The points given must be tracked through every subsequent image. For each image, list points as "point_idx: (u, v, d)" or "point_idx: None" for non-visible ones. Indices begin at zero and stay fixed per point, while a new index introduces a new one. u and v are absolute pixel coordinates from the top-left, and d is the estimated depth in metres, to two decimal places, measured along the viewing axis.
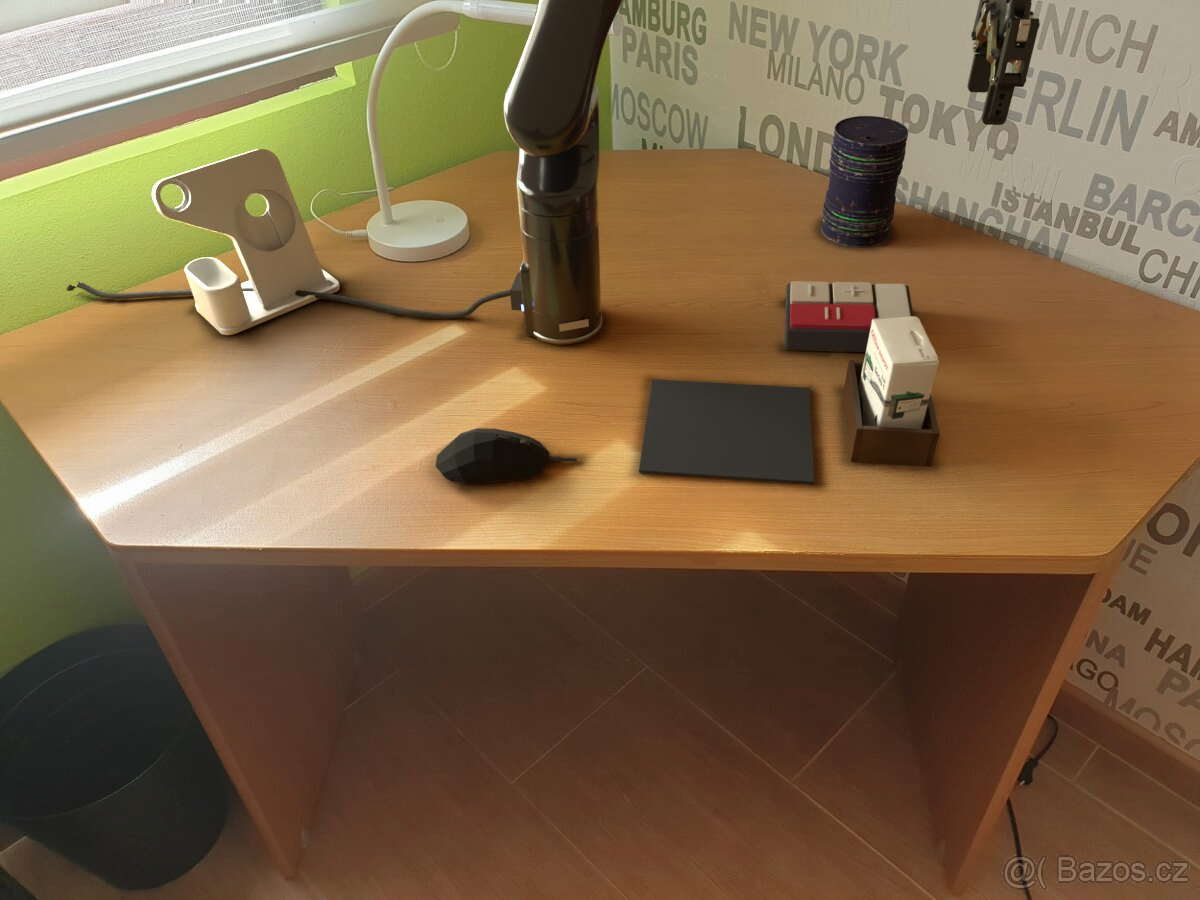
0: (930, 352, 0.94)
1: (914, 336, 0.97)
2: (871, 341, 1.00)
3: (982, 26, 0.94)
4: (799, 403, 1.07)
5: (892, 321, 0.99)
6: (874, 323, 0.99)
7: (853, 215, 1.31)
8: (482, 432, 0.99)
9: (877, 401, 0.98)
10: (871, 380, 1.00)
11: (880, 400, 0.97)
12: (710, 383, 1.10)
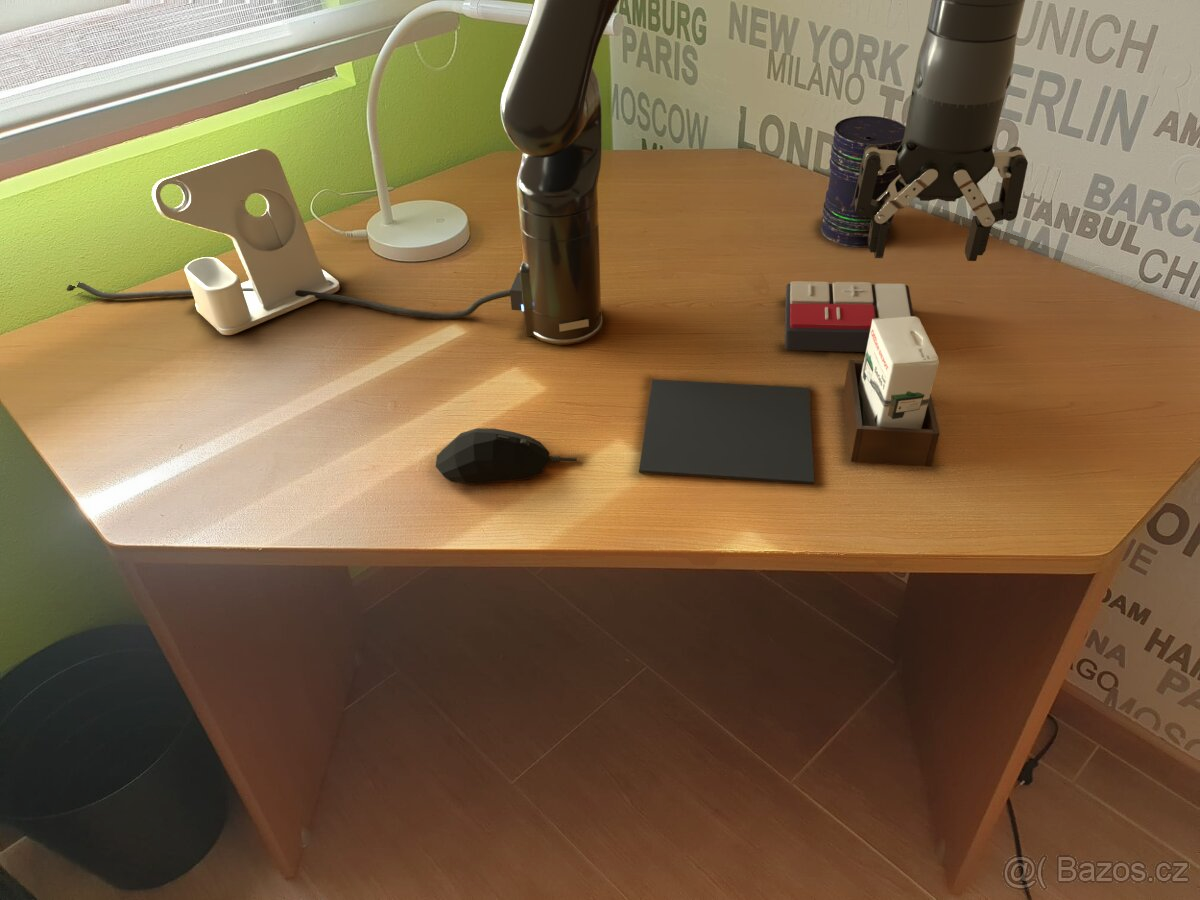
0: (930, 352, 0.94)
1: (914, 336, 0.97)
2: (871, 341, 1.00)
3: None
4: (799, 403, 1.07)
5: (892, 321, 0.99)
6: (874, 323, 0.99)
7: (853, 215, 1.31)
8: (482, 432, 0.99)
9: (877, 401, 0.98)
10: (871, 380, 1.00)
11: (880, 399, 0.97)
12: (710, 383, 1.10)
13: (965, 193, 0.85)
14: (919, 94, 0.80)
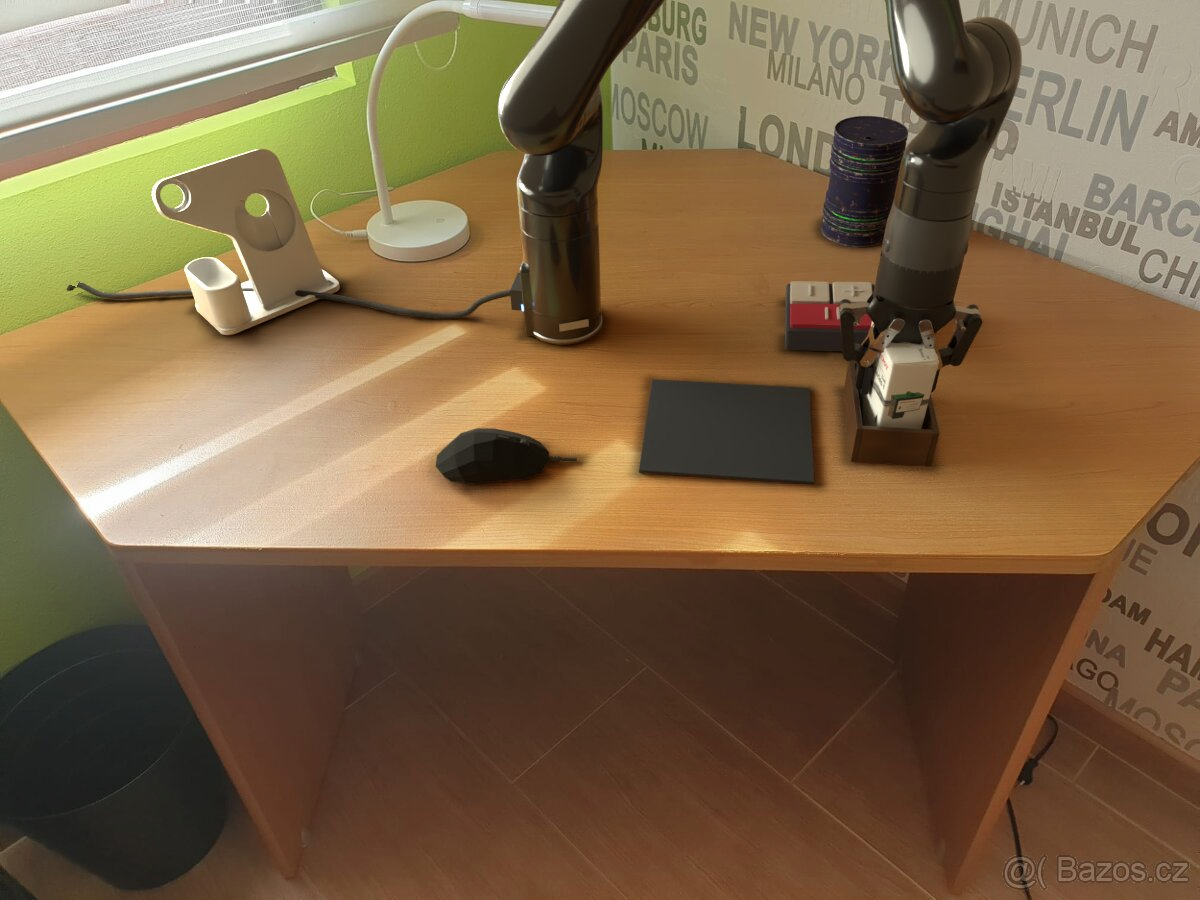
0: (930, 352, 0.94)
1: None
2: None
3: None
4: (799, 403, 1.07)
5: None
6: None
7: (853, 215, 1.31)
8: (482, 432, 0.99)
9: (877, 400, 0.98)
10: (871, 380, 1.00)
11: (880, 399, 0.97)
12: (710, 383, 1.10)
13: (929, 338, 0.94)
14: (887, 257, 0.89)
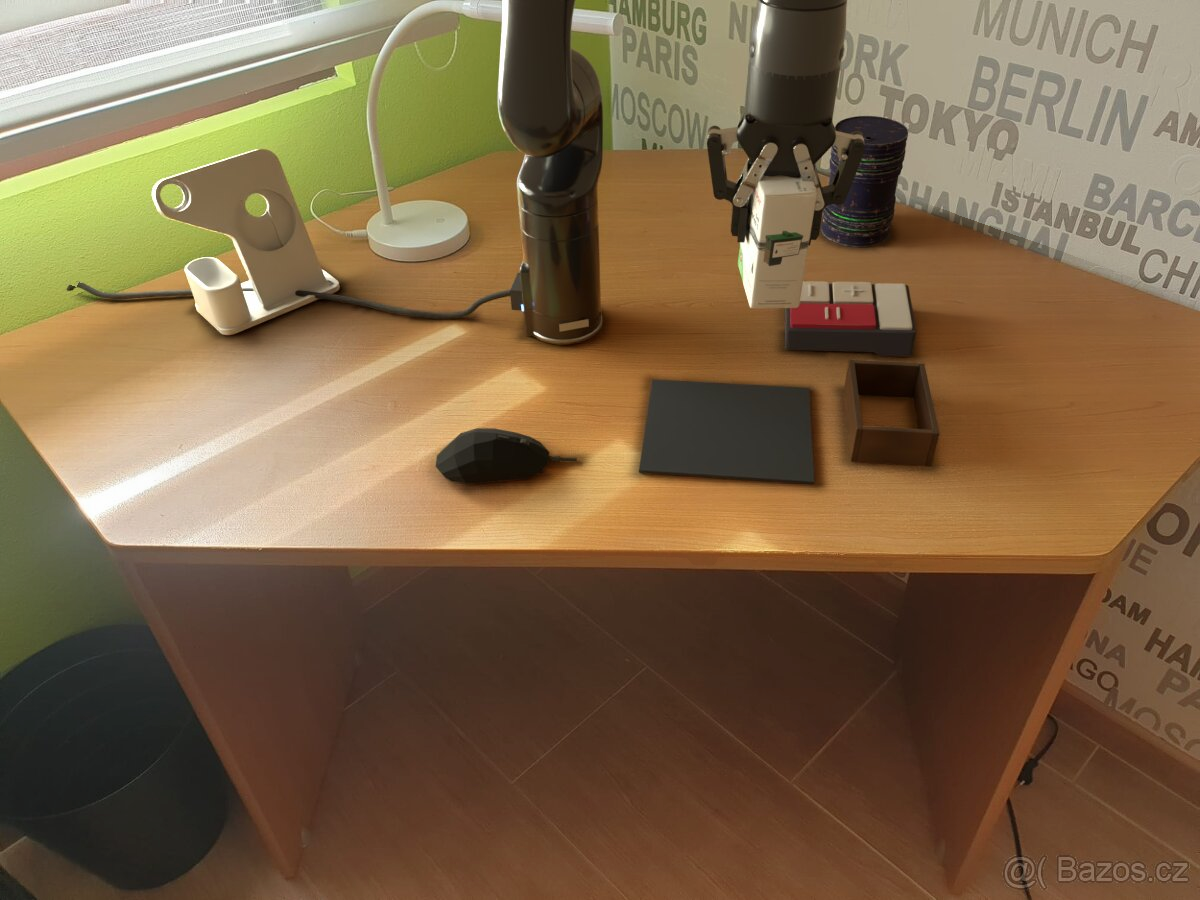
0: (808, 184, 0.83)
1: None
2: None
3: None
4: (799, 403, 1.07)
5: None
6: None
7: (853, 215, 1.31)
8: (482, 432, 0.99)
9: (753, 246, 0.87)
10: (748, 226, 0.89)
11: (755, 243, 0.86)
12: (710, 383, 1.10)
13: (807, 168, 0.83)
14: (752, 64, 0.78)
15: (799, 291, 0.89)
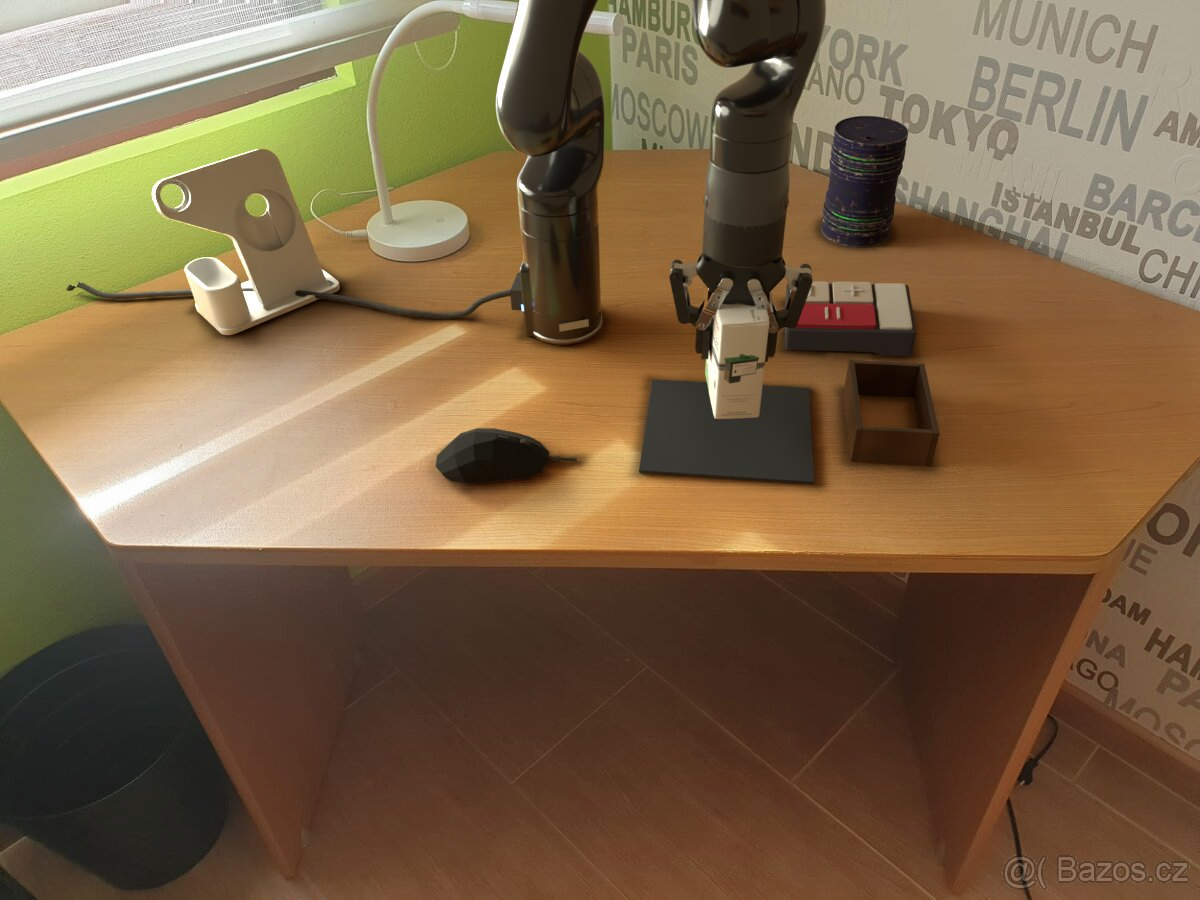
0: (762, 313, 0.92)
1: None
2: None
3: None
4: (799, 403, 1.07)
5: None
6: None
7: (853, 215, 1.31)
8: (482, 432, 0.99)
9: (715, 365, 0.96)
10: (711, 345, 0.97)
11: (716, 363, 0.95)
12: None
13: (760, 299, 0.92)
14: (707, 213, 0.87)
15: (758, 403, 0.97)
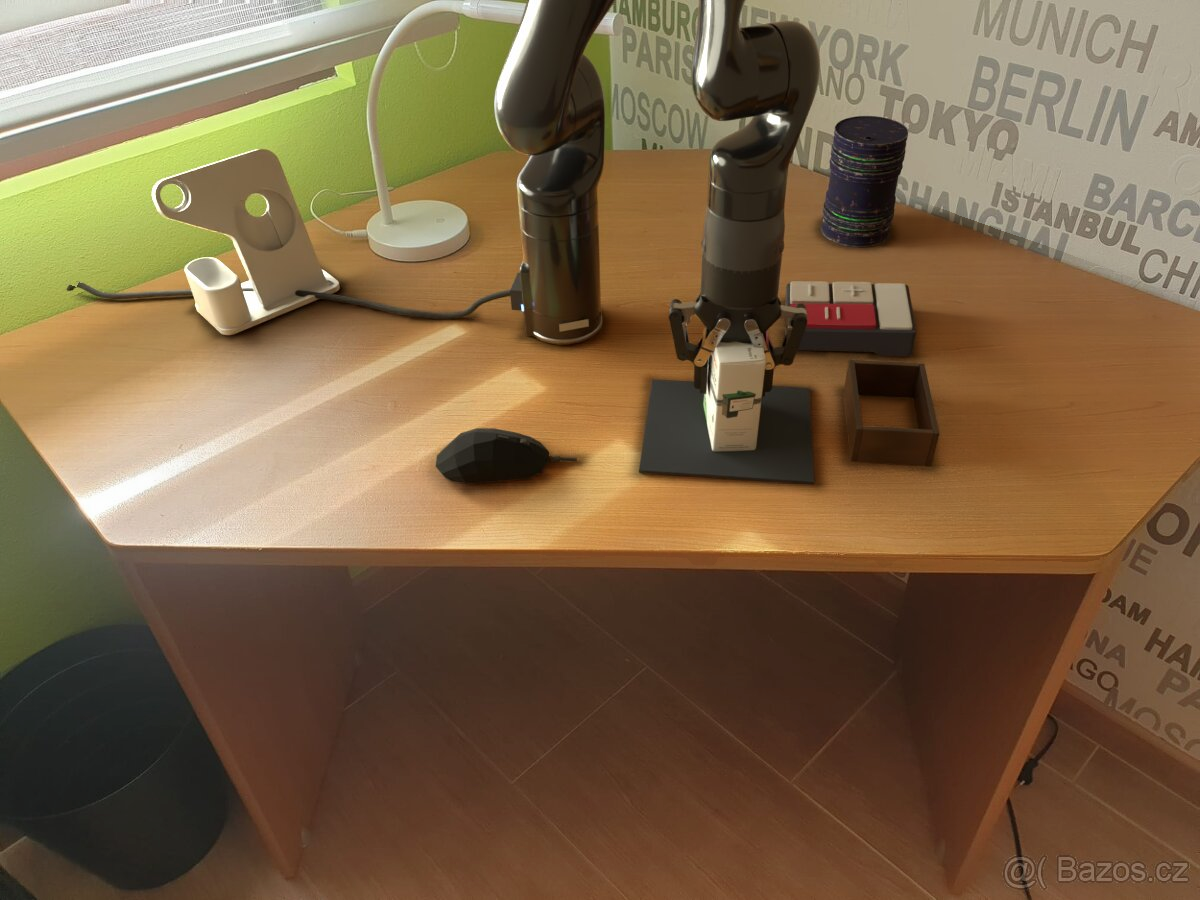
0: (758, 351, 0.95)
1: None
2: None
3: None
4: (799, 403, 1.07)
5: None
6: None
7: (853, 215, 1.31)
8: (482, 432, 0.99)
9: (713, 400, 0.98)
10: (709, 380, 1.00)
11: (714, 399, 0.98)
12: None
13: (757, 338, 0.94)
14: (705, 257, 0.90)
15: (755, 437, 1.00)
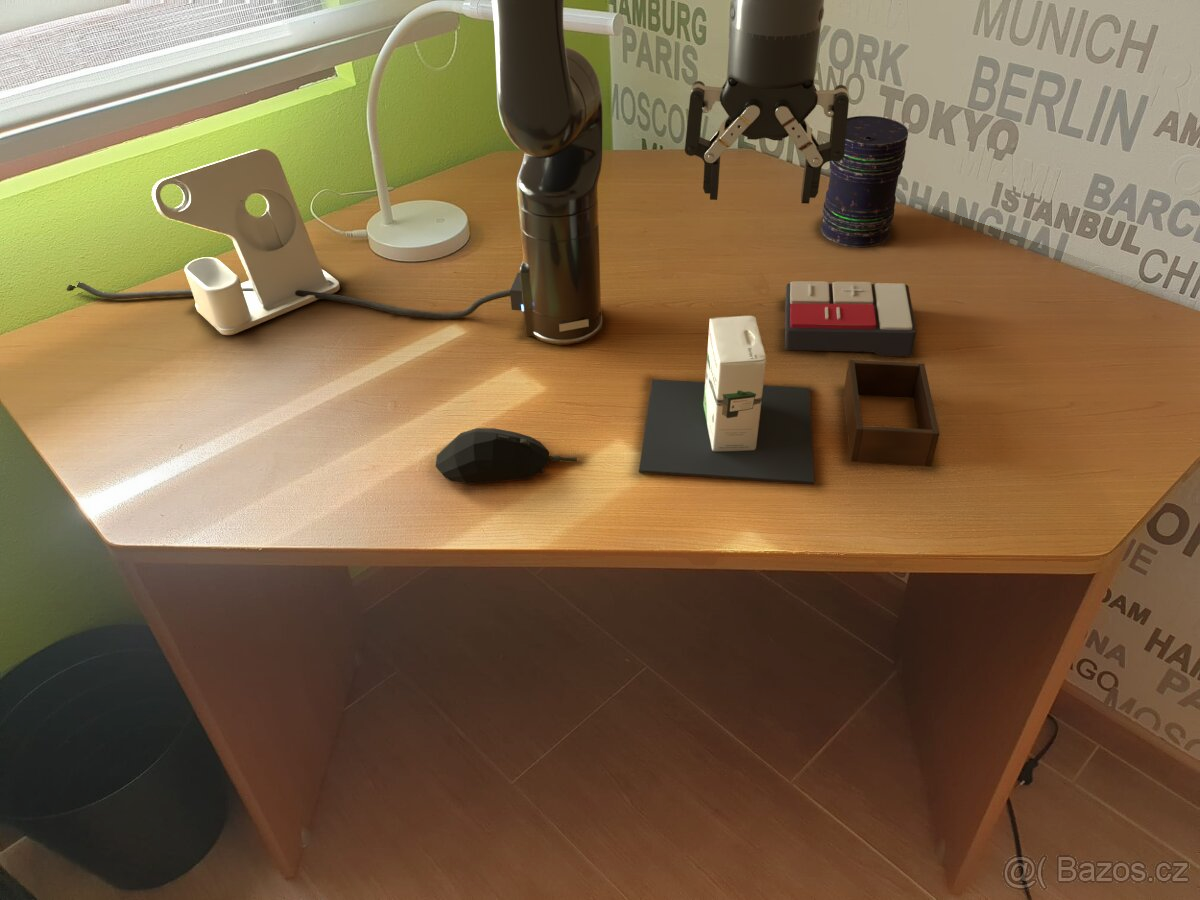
0: (759, 351, 0.95)
1: (747, 335, 0.97)
2: (709, 340, 1.00)
3: None
4: (799, 403, 1.07)
5: (728, 321, 0.99)
6: (711, 322, 0.99)
7: (853, 215, 1.31)
8: (482, 432, 0.99)
9: (713, 400, 0.98)
10: (709, 379, 1.00)
11: (714, 399, 0.98)
12: None
13: (789, 131, 0.84)
14: (733, 26, 0.79)
15: (755, 437, 1.00)
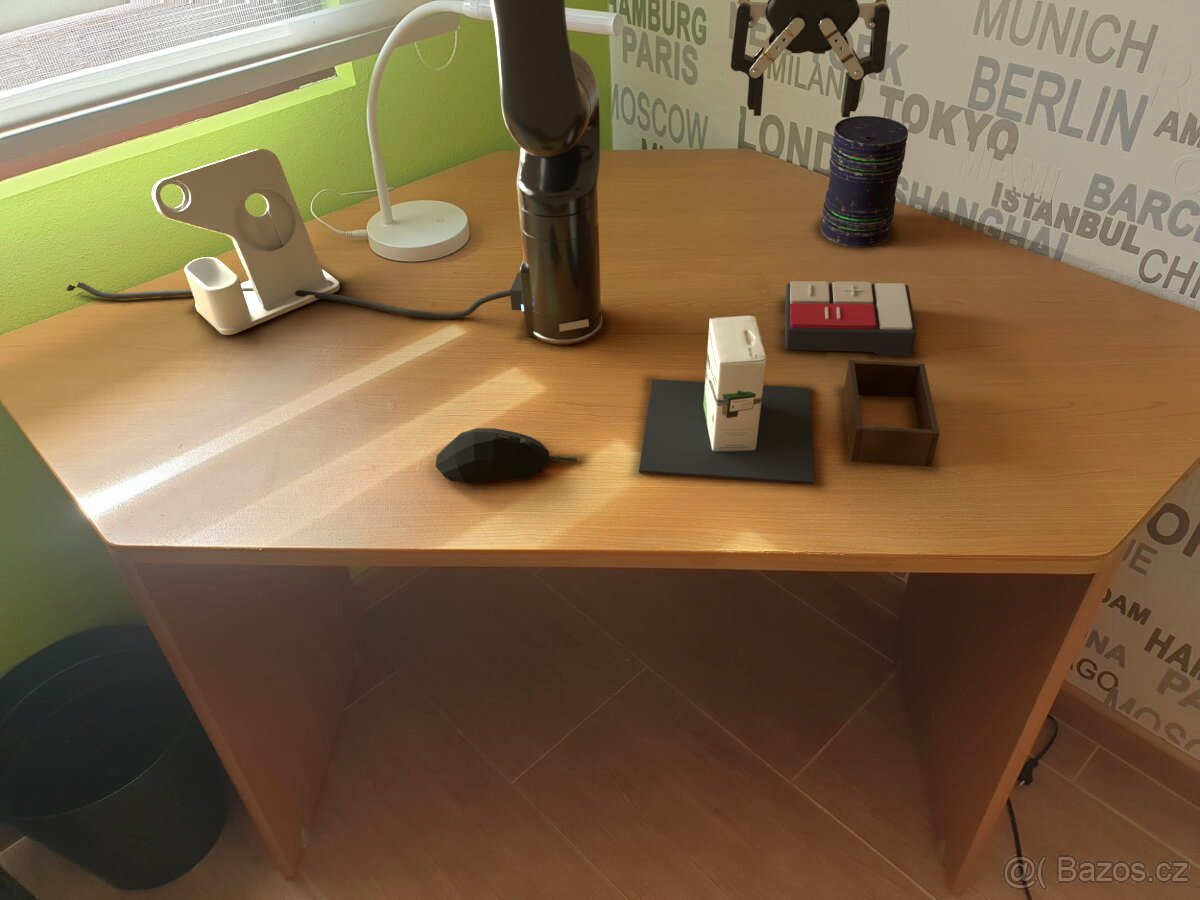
0: (759, 351, 0.95)
1: (747, 335, 0.97)
2: (709, 340, 1.00)
3: None
4: (799, 403, 1.07)
5: (728, 321, 0.99)
6: (711, 322, 0.99)
7: (853, 215, 1.31)
8: (482, 432, 0.99)
9: (713, 400, 0.98)
10: (709, 379, 1.00)
11: (714, 399, 0.98)
12: None
13: (832, 43, 0.88)
14: None
15: (755, 437, 1.00)
